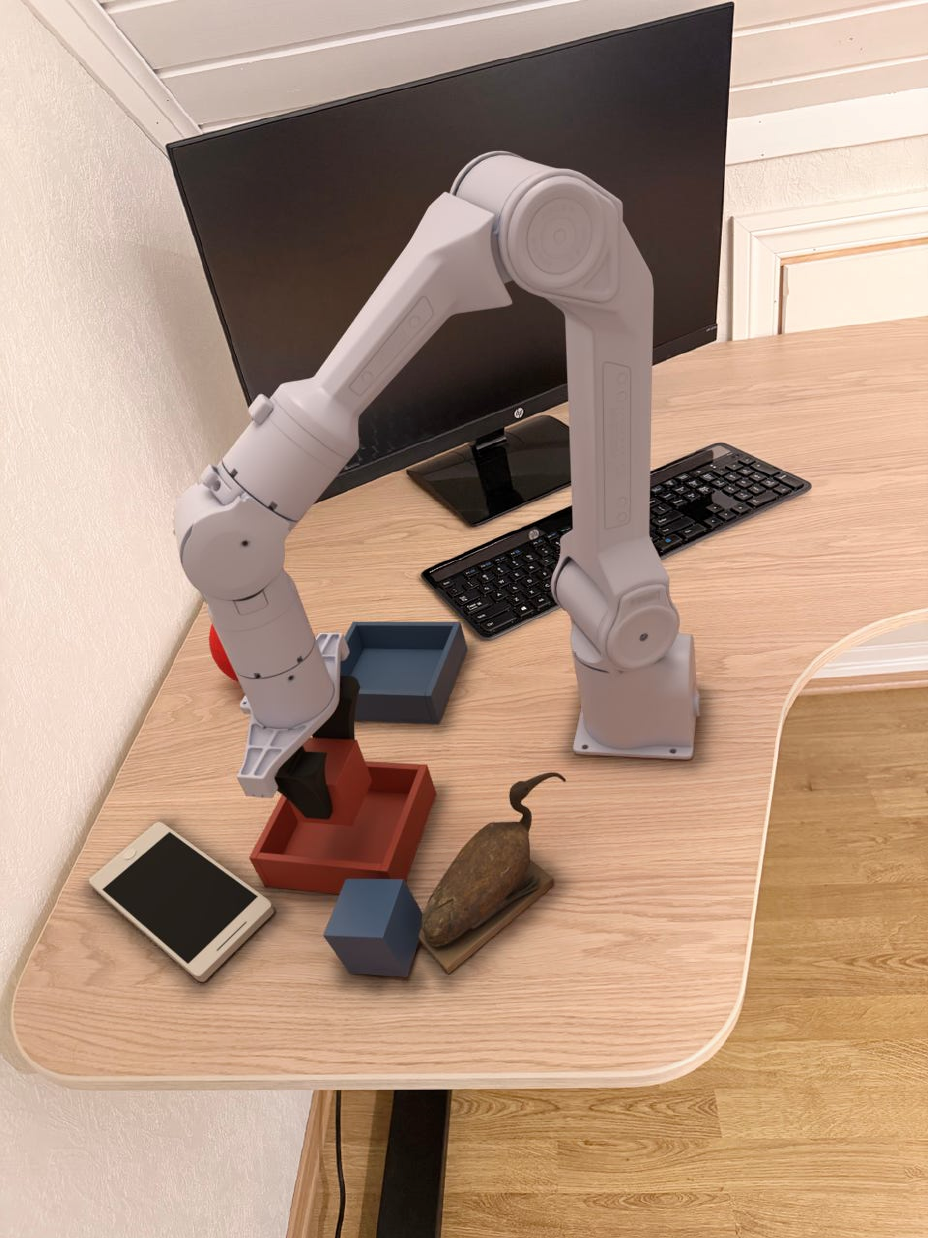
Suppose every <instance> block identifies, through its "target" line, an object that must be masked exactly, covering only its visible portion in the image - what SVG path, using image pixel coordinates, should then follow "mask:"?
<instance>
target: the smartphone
mask: <svg viewBox="0 0 928 1238" xmlns="http://www.w3.org/2000/svg"><path fill="white" fill-rule="evenodd" d="M88 883H89V884H90V886H91V887H92V888H93V890H94V891H95V892H96V893H98V895H99V896H101V897H102V898H103V899H104V900H105V901H107V903H108V904H110V905H111V906H112V907H113V908H114V909H116V911H118V912H119V913H120V914H121V915H123V917H124V918H125V919H127V920H128V921H129V922H130V923H132V925H134V926H135V927H136V928H137V929H138V930H140V931H141V932H142V934H144V935H145V936H146V937H147V938H148V939H150V940H151V942H153V943H154V944H155V945H156V946H158V947H159V948H160V949H161V950H162V951H163V952H165V953H166V954H167V955H168V956H169V957H170V958H171V959H172V960H174V961H175V962H176V963H177V964H178V965H179V966H180V967H182V969H184V970H185V971H186V972H187V973H188V974H189V975H191V976H192V977H193V978H194V979H195V980H196V981H198V982H201V983H204V982H206V981H207V980H208V979H209V978H210V977H211V976H212V975H213V974H214V973H215V972H216V971H217V970H218V969H219V968H220V967H221V966H222V965H223V964H224V963H225V962H226V961H227V960H228V959H229V958H230V957H231V956H232V955H233V954H234V953H235V952H236V951H237V950H238V949H239V948H240V947H241V946H242V945H243V944H244V943H246V941H247V940H248V939H249V938H250V937H251V936H252V935H253V934H254V933H255V932H256V931H257V930H258V929H259V928H261V926H263V924H264V923H265V922H267V921H268V919H269V918H271V916H272V915H273V914H274V913H275V908H274V906H273V904H272V903H271V901H270V900H269V899H268V898H266V897H265V896H264V895H263V894H261V893H260V892H259V891H257V890H256V889H254V888H253V887H252V886H250V885H249V884H247V882H245V881H243V880H242V879H241V878H239V877H238V876H237V875H235V874H234V873H232V872H231V871H230V870H228V869H227V868H226V867H224V866H223V865H221V863H219V862H217V861H216V860H214V859H213V858H212V857H210V856H209V855H208V854H206V853H205V852H203V850H201V849H199V848H198V847H196V846H195V845H193V844H192V843H191V842H190V841H188V840H187V839H186V838H184V837H183V836H182V835H180V834H179V833H177V832H176V831H175V830H173V829H172V828H170V827H169V826H168V825H166V824H165V823H164V822H161V821H156V822H154V824H153V825H151V826H150V827H148V829H146V830H145V831H144V832H142V834H141V835H139V836H138V837H137V838H136V839H134V840H133V841H132V842H131V843H130V844H129V845H127V846H126V847H125V848H124V849H122V850H121V851H120V852H119V853H118V854H116V856H114V857H113V858H111V860H109V861H108V862H107V863H105V865H104V866H102V867H101V868H100V869H99V870H98V871H96V872H95V873H93V874H92V875H91V877H89V879H88Z"/></svg>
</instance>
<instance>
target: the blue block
mask: <svg viewBox="0 0 928 1238" xmlns="http://www.w3.org/2000/svg"><path fill="white" fill-rule="evenodd" d="M337 897H338V898H337V899H336V902H335V905H334V906H333V907H334V908H333V910H332V912H331V915H330V916H329V920H328V922H327V925H326V926H325V929H324V931H323V935H322V936H323V938H324V939H325V941H326V942H327V944H328V945H329V947H331V949H332V950H333V952H334V954H335V955H336V957H337V958H338V959H339V961H340V962H341V964H342V965H343V967H344V968H345V969H346V971H347V972H348V973H349V974H351V975H370V976H385V977H387V976H388V977H403V978H404V977H405V978H407V977H408V976H409V973H410V970H411V966H412V964H413V960H414V957H415V954H416V951H417V948H418V944H419V943H420V941H419V934H420V931H421V928H422V916H423V913H424V912H423V911H422V910H421V908H420V906H419V903H417V901H416V899H415V897H414V896H413V894H412V892H411V891H410V889H409V887H408V885H407V883H406V881H405V882H404V880H403V879H346V880H345V883H344V885H343V888H342V890H341V893H340V894H338V896H337Z"/></svg>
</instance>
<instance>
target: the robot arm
mask: <svg viewBox="0 0 928 1238" xmlns="http://www.w3.org/2000/svg"><path fill="white" fill-rule="evenodd" d="M623 208H624V205H623V201H621V200H620V199H619V198H618V197H616V196H615V195H614V194H613V193H611V192H610V191H608V190H607V189H605V188H604V187H602V186H601V185H600V184H598V183H596V182H595V181H594V180H593V179H591V178H590V177H588V176H587V175H585V174H584V173H581V172H579V171H576V170H574V169H570V168H557V167H552V166H550V165H546V164H542V163H538V162H535V161H531V160H528V159H526V158H525V157H522V156H521V155H518V154H516V153H513V152H512V151H511V152H510V151H504V150H493V151H489V152H486V153H483V154H480V155H478V156H477V157H475V158H473V159H471V160H470V161H469V162H468V163H466V164H465V166H464V167H463V168H462V169H461V170H460V172H459V173H458V175H457V176H456V177H455V179H454V181H453V183H452V186H451V188H450V191H449V192H447V191H444V192H443V193H442V194H441V195H440V196H438V197H437V198H436V199H435V200H434V201H433V202H432V203H431V204H430V205H429V206H428V208H427V209H426V211H425V213H424V215H423V217H422V219H421V220H420V222H419V224H418V226H417V228H416V229H415V231H414V234H413V235H412V237H411V239H410V240H409V242H408V243H407V245H406V246H405V248H404V249H403V251H402V252H401V253H400V255H399V256H398V257H397V259H396V260H395V262H394V263H393V264H392V266H391V267H390V269H389V270H388V271H387V272H386V274H385V276H384V277H383V279H381V281H380V282H379V284H378V286H377V287H376V289H374V292H373V293H372V294H371V295H370V296H369V299H368V300H367V301H366V302H365V305H363V307H362V308H361V310H360V311H359V312H358V314H357V316H356V317H354V320H353V321H352V322H351V324H350V325H349V327H348V328H347V330H346V331H345V332H344V334H343V335H342V336H341V338H340V339H339V341H337V344H335V347H334V348H333V349H332V351H331V352H330V354H329V355H328V356H327V358H326V359H325V361H324V362H323V363H322V365H321V366H320V367H319V369H318V370H317V372H316V373H315V374H314V376H313V377H310V378H305V379H301V380H293V381H289V382H284V383H281V384H280V385H279V386H278V388H277V389H276V390H275V391H274V393H273V394H272V395H271V396H270V397H269V398H268V397H267V396H266V395H265V394H263V393H260V394H258V395H257V396H256V398H255V399H254V400H253V401H252V403H251V404H250V406H249V407H248V409H247V411H248V413H249V415H250V417H251V419H252V421H251V422H250V423H249V424H248V426H247V427H246V428H245V430H244V431H243V432H242V433H241V434H240V436H239V437H238V438H237V440H236V441H235V443H234V444H233V445H232V446H231V447H230V449H229V450H228V451H227V453H226V454H225V455H224V456H223V458H222V459H221V460H220V461H219V463H218V464H217V465H213V464H212V463H209V464H208V465H206V467H205V469H204V470H203V471H202V472H201V474H200V480H201V482H200V483H199V482H195V483H194V484H192V485H191V486H189V487H187V489H186V490H185V491H184V492H183V493H182V494H181V495H180V497H179V498H178V500H177V502H176V504H175V506H174V509H173V512H172V515H173V519H172V525H173V526H172V527H173V531H172V532H173V535H174V537H175V540H176V545H177V551H178V556H179V560H180V561H179V562H180V565H181V568H182V570H183V572H184V574H185V576H186V578H187V580H188V581H189V583H190V584H191V586H193V587H194V588H195V589H196V590H197V591H199V595H200V597H201V599H202V600H203V602H204V603H205V604H206V605H207V606H206V607H207V614H208V617H209V619H210V622H211V625H212V624H213V626H214V628H215V630H216V633H217V635H218V637H219V639H220V641H221V643H222V646H223V648H224V650H225V652H226V654H227V657H228V659H229V661H230V663H231V665H232V667H233V669H234V671H235V674H236V676H237V678H238V680H239V682H240V683H239V682H238V683H239V684H240V687H241V688H242V691H243V693H244V696H243V698H242V700H241V701H240V703H239V707H240V709H241V711H242V713H243V714H245V715H249V723H248V730H247V737H246V744H245V750H244V756H243V761H242V764H241V767H240V769H239V771H238V773H237V775H236V779H237V781H238V783H239V785H240V787H241V789H242V791H243V792H244V794H245V796H246V797H250V798H260V799H264V798H266V799H273V798H274V797H275V795H276V793H277V792H278V793H279V794H281V795H283V796H284V797H286V798H287V799H288V800H289V801H290V802H291V803H292V804H293V805H294V806H295V807H296V808H297V809H298V810H299V811H300V812H301V813H302V814H303V815H304V816H305V818H313V819H325V820H328V819H330V817H331V815H332V802H331V797H330V794H329V791H328V788H327V784H326V778H325V761H326V756H327V752H309V751H305V749H304V747H303V746H302V745H303V744H304V743H305V742H306V741H307V740H308V739H309V738H310V737H311V738H331V739H351V740H356V736H355V735H356V732H355V731H356V730H355V721H354V718H355V708H356V702H357V697H358V693H359V690H360V685H359V682H358V680H357V678H355V677H353V676H340V661H344V660H345V659H346V658H347V656H348V654H349V652H350V651H349V648H348V646H347V643H346V640H345V635H344V633H343V632H319V633H318V635H317V636H315V634H314V631H313V628H312V626H311V623H310V620H309V617H308V615H307V612H306V610H305V607H304V605H303V601H302V599H301V597H300V594H299V591H298V588H297V585H296V583H295V581H294V579H293V578H292V576H291V575H290V574H289V573H287V571H286V570H285V568H284V565H285V559H286V549H285V542H286V539H287V537H288V536H289V535H290V533H292V532H291V531H293V530H294V529H295V527H296V526H297V525H298V524H299V523H300V521H301V520H302V519H303V518H304V517H305V516H306V514H307V513H308V511H309V510H310V509H311V508H312V507H313V505H314V504H315V503H316V502H317V500H318V499H319V498H320V497H321V496H322V494H323V493H324V492H325V491H326V489H327V488H328V487H329V486H330V485H331V483H332V482H333V481H334V480H335V479H336V477H337V476H338V475H339V473H341V472H342V470H343V469H344V467H345V466H346V465H347V464H348V463H349V461H350V460H351V459H352V458H353V456H354V455H355V454H356V453H357V452H358V450H359V449H360V438H359V418H360V416H361V415H362V414H363V412H364V411H365V410H366V409H367V408H368V407H369V406H370V405H371V404H372V402H374V401H375V400H376V398H377V397H378V396H379V395H380V394H381V393H382V392H383V390H385V388H386V387H387V386H388V385H389V384H390V383H391V382H392V381H393V379H395V377H397V375H398V374H399V373H400V372H401V371H402V370H403V369H404V367H405V366H406V365H407V364H408V363H409V362H410V361H411V359H412V358H413V357H414V356H415V355H416V354H417V353H418V352H419V351H420V350H421V349H422V348H423V346H424V345H425V344H426V343H427V342H428V341H429V340H430V339H431V338H432V337H433V335H434V334H435V333H436V332H437V331H438V330H439V329H440V328H441V326H443V324H444V323H445V322H446V321H447V320H448V319H449V318H450V317H452V316H453V315H457V314H463V313H470V312H477V311H485V310H492V309H498V308H504V307H509V306H511V305H513V300H512V297H511V296H510V294H509V292H508V290H507V288H506V286H505V284H507V283H508V282H512V281H513V282H514V283H515V284H516V285H517V286H518V287H519V288H521V289H522V290H525V291H526V292H528V293H529V294H532V295H535V296H538V297H541V298H544V299H546V300H547V301H548V302H549V303H551V304H552V305H554V307H556V308H558V309H559V310H560V311H561V312H562V313H563V315H564V319H565V321H564V322H565V323H564V324H565V347H566V373H567V374H566V375H567V400H568V401H567V403H568V429H569V454H570V455H569V459H570V483H571V485H570V486H571V511H572V512H571V513H572V529H571V530H569V531H568V532H566V533H564V534H563V535H562V536H561V537H560V539H559V545H560V550H559V551H560V553H559V558H558V562H557V564H556V566H555V569H554V570H553V572H552V576H551V581H550V591H551V596H552V598H553V600H554V602H555V603H556V604H557V605H558V606H559V607H560V608H561V609H562V610H563V611H564V612H566V613H567V614H568V615H569V617H570V625H571V629H570V638H569V639H570V641H569V642H570V647H571V653H572V659H573V666H574V671H575V677H576V684H577V689H578V690H577V691H578V695H579V701H580V707H581V709H580V712H579V718H578V723H577V727H576V730H575V736H574V741H573V745H572V751H573V753H574V754H576V755H585V756H588V755H590V756H609V757H625V758H626V757H627V758H628V757H629V758H630V757H631V758H648V759H649V758H650V759H666V760H667V759H668V760H669V759H672V760H690V759H692V758H693V756H694V746H695V733H696V724H697V718H699V717H700V711H701V709H700V707H701V702H700V701H701V699H700V694H699V690H698V682H697V665H696V649H695V648H696V647H695V639H694V636H693V634H690V633H683V632H679V631H680V627H681V626H680V623H681V619H680V614H679V611H678V608H677V607H676V606H675V604H674V603H673V601H672V597H671V594H670V577H669V574H668V572H667V570H666V567H665V565H664V563H663V561H662V560H661V557H660V555H659V553H658V551H657V549H656V547H655V545H654V543H653V541H652V538H651V536H650V512H651V510H650V507H651V505H650V503H651V501H650V500H651V457H652V456H651V454H652V453H651V452H652V451H651V449H652V404H653V403H652V398H653V396H652V395H653V344H654V343H653V341H654V298H655V297H654V295H655V292H654V281H653V275H652V273H651V271H650V269H649V267H648V265H647V263H646V261H645V259H644V258H643V256H642V254H641V252H640V250H639V248H638V246H637V245H636V242H635V241H634V239H633V237H632V235H631V233H630V232H629V230H628V228H627V226H626V225H625V222H624V219H623V217H624V210H623Z"/></svg>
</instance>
